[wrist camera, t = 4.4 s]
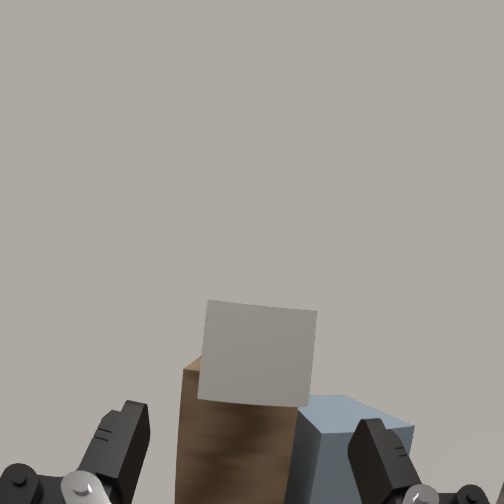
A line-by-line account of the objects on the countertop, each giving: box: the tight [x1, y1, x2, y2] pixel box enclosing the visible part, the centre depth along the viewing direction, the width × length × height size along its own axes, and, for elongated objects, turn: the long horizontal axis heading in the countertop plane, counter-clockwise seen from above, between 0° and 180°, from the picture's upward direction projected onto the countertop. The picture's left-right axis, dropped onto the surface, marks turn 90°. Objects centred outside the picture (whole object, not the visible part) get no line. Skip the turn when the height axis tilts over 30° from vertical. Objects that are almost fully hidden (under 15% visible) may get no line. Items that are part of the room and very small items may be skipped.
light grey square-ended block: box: [197, 300, 317, 407], centre depth 24 cm, size 4×26×4 cm, turn 4°
